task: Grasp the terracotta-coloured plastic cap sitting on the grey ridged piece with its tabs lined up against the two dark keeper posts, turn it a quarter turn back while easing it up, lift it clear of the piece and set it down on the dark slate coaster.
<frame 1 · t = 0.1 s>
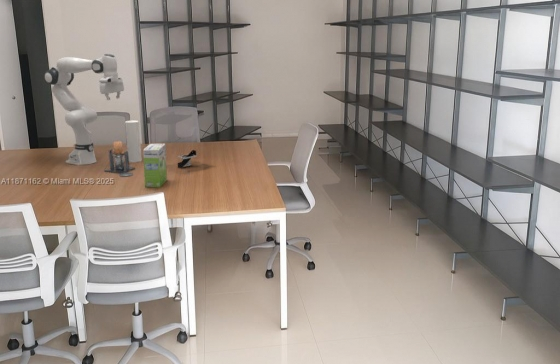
hand: (113, 99, 364), 48 cm above the table, tool pointing down, fingers open, 8 cm apart
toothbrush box: (156, 183, 337), on the table
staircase: (187, 168, 375), on the table
coaster: (126, 175, 356), on the table
cap: (118, 154, 364), point 11 cm above the table, touching grey ridged piece
grey ridged piece: (120, 170, 367), on the table
cylinder container: (135, 161, 393), on the table
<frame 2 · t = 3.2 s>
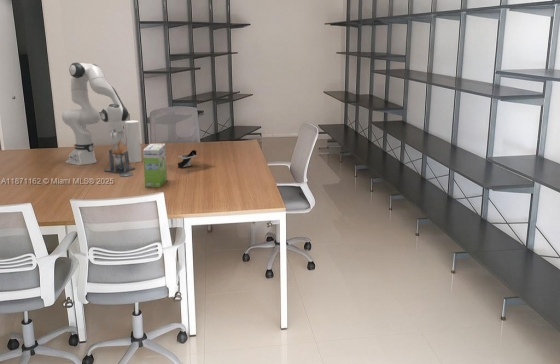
hand: (118, 148, 363), 16 cm above the table, tool pointing down, fingers closed on cap, 6 cm apart
cap: (118, 154, 364), point 11 cm above the table, touching grey ridged piece, gripper
everything else where it was.
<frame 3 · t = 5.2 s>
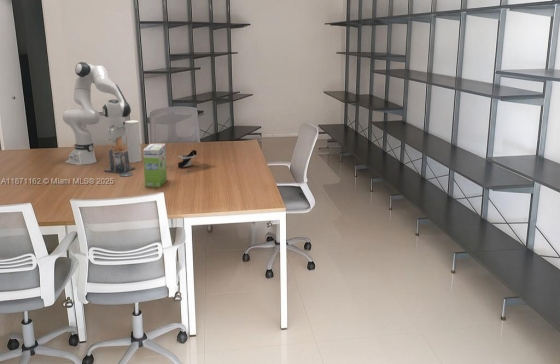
hand: (117, 144, 362), 19 cm above the table, tool pointing down, fingers closed on cap, 6 cm apart
cap: (118, 150, 364), point 14 cm above the table, touching gripper
everything else where it was.
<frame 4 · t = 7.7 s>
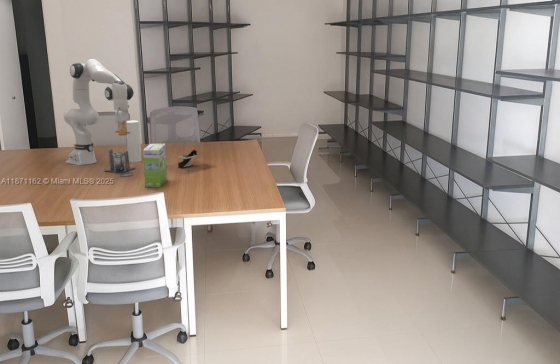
hand: (122, 127, 347), 32 cm above the table, tool pointing down, fingers closed on cap, 6 cm apart
cap: (123, 134, 349), point 27 cm above the table, touching gripper
everything else where it was.
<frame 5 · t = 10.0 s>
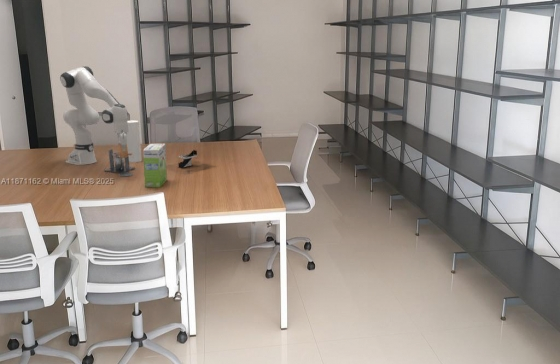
hand: (123, 150, 350), 17 cm above the table, tool pointing down, fingers closed on cap, 6 cm apart
cap: (123, 156, 352), point 13 cm above the table, touching gripper
everything else where it was.
when the fingers open (7 cm above the table, at t = 12.2 s): cap drops 1 cm, resting on coaster.
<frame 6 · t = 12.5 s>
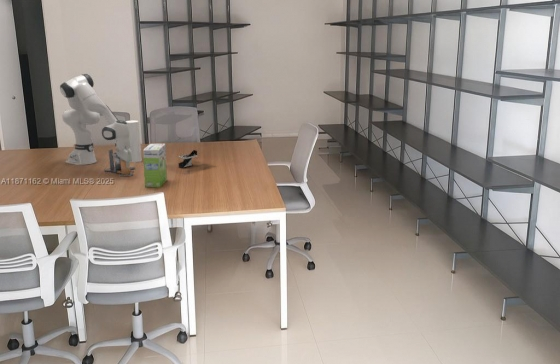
hand: (125, 165, 354), 7 cm above the table, tool pointing down, fingers open, 8 cm apart
cap: (125, 174, 356), point 1 cm above the table, touching coaster
everything else where it was.
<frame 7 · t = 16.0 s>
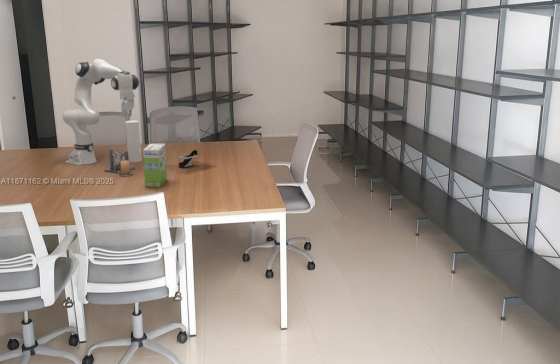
hand: (128, 117, 357), 37 cm above the table, tool pointing down, fingers open, 8 cm apart
nothing on the table moved.
at the end: cap inside the target area on the coaster (0.1 cm from its centre), point 0.6 cm above the coaster's base; cap tilted 0°; the gripper is holding nothing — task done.
